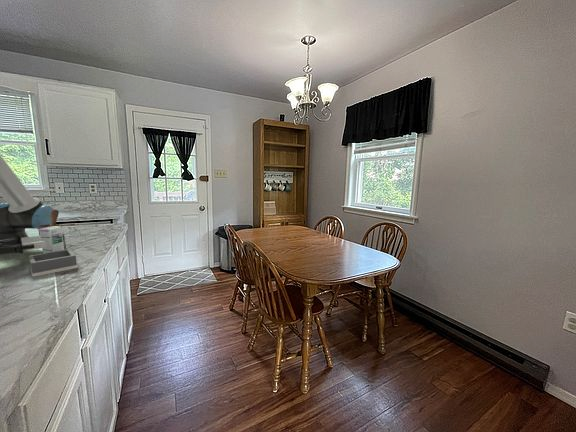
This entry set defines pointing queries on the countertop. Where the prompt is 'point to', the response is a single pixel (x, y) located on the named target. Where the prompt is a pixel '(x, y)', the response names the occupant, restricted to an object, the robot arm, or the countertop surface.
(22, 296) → the countertop surface
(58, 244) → the syrup box
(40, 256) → the box
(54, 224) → the mortar and pestle
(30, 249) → the robot arm
